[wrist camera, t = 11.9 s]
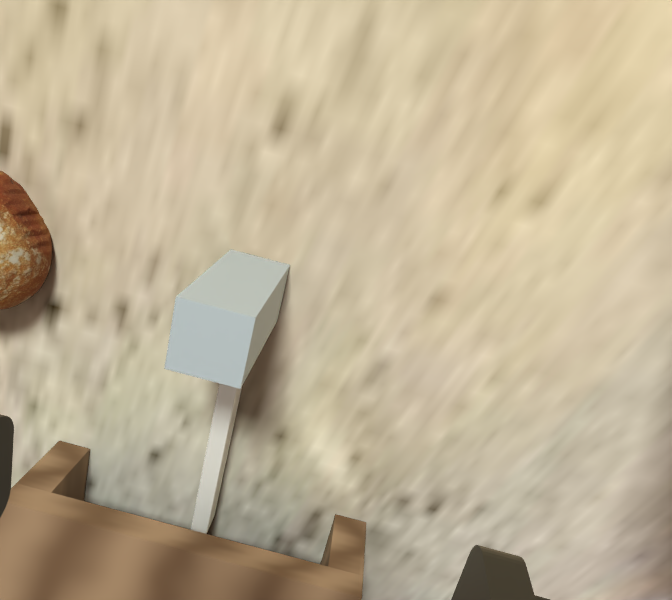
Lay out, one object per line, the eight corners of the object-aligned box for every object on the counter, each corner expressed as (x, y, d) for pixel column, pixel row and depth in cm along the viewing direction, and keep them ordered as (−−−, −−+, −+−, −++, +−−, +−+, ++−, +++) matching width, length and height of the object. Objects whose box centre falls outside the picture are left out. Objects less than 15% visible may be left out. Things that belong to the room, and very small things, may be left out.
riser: (366, 522, 43) (361, 597, 36) (334, 619, 46) (325, 704, 39) (59, 440, 43) (-1, 500, 36) (49, 543, 46) (-8, 615, 40)
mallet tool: (290, 264, 37) (255, 317, 28) (232, 519, 44) (188, 631, 34) (230, 249, 37) (176, 296, 28) (182, 506, 44) (125, 614, 34)
